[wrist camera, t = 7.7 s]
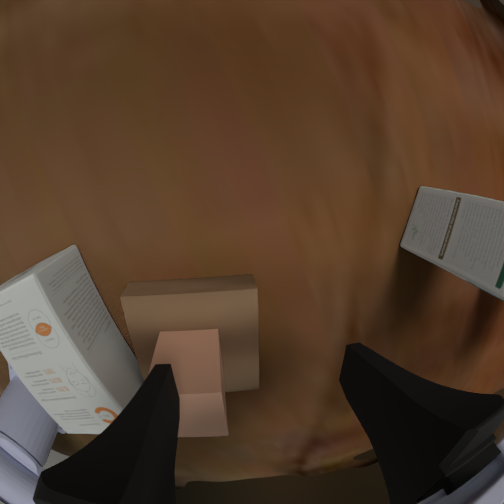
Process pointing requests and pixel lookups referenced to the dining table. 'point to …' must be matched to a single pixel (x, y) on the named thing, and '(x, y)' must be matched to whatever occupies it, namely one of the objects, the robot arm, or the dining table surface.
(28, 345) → the small box
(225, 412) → the terracotta block
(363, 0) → the dining table surface
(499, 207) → the syrup box
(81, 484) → the robot arm
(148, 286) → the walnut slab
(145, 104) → the dining table surface
